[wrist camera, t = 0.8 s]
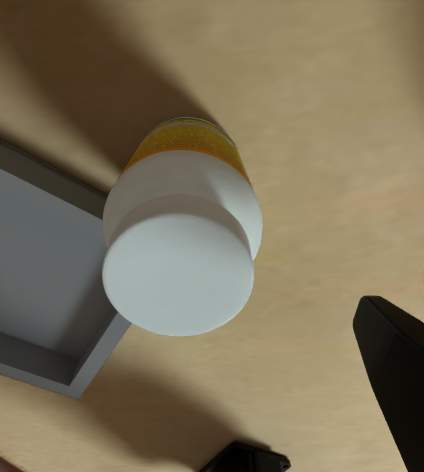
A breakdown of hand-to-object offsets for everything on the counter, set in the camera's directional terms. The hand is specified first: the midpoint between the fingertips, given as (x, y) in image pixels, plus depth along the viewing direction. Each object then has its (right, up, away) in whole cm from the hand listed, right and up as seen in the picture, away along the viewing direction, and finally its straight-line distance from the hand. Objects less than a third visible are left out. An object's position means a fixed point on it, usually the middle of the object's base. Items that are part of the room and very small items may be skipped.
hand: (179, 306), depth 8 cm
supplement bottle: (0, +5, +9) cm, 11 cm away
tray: (-10, 0, +11) cm, 15 cm away
